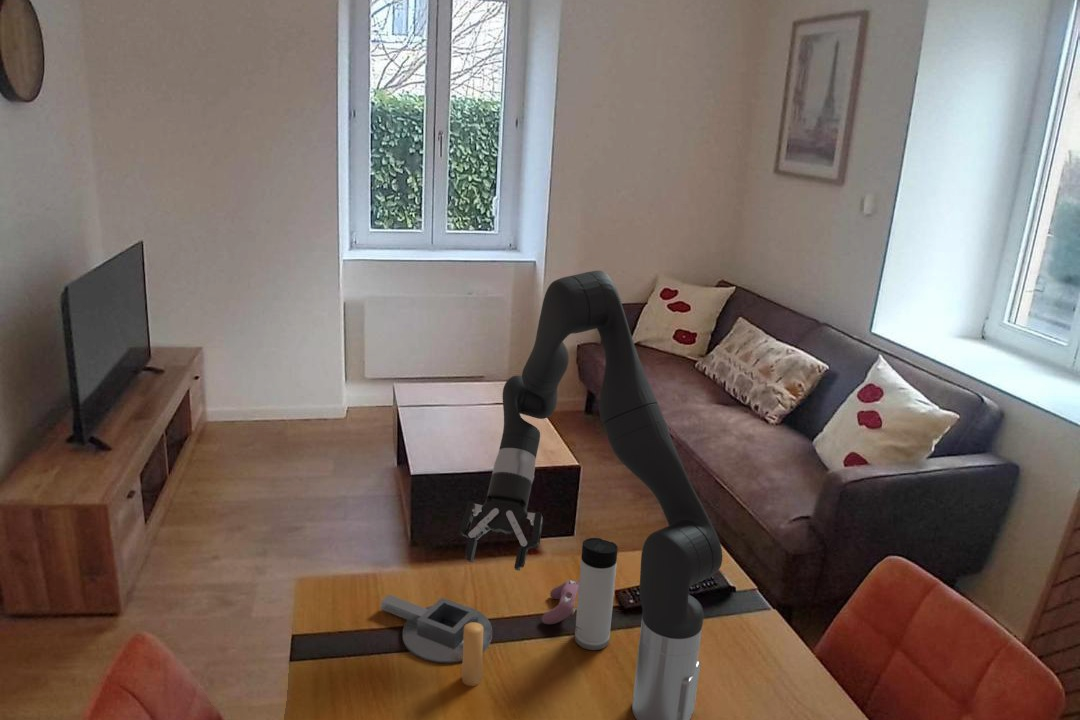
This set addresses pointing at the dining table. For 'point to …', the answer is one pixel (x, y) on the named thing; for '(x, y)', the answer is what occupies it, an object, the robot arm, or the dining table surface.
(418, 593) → the dining table surface
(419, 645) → the grey handled frame
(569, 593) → the video game controller
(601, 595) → the travel mug
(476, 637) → the wedge pin
